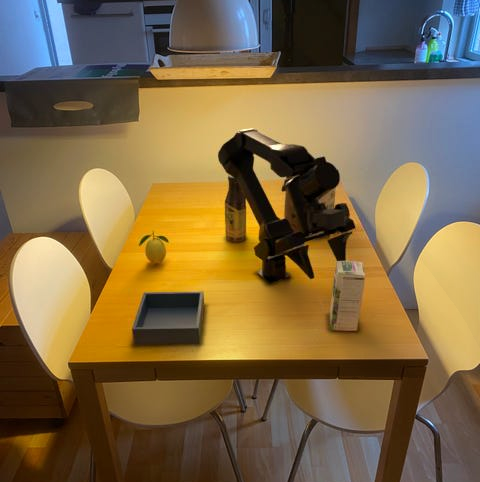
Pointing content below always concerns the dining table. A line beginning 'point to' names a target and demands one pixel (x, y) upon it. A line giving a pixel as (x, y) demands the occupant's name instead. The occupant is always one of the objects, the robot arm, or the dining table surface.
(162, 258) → the lemon
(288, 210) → the wooden container
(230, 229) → the sauce bottle
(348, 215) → the robot arm
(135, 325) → the bin
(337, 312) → the syrup box
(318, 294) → the dining table surface
